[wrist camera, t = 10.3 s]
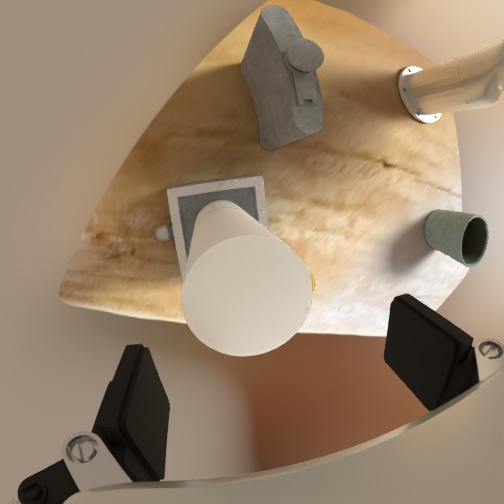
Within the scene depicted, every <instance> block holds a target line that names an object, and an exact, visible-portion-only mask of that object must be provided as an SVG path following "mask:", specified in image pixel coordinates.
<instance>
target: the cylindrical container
mask: <svg viewBox="0 0 504 504" xmlns="http://www.w3.org/2000/svg"><path fill="white" fill-rule="evenodd" d="M312 295H313V290H312V280H311V277H310V274H309V271H308V269H307V267H306V265H305V263H304V262H303V260H302V259H301V257H300V256H299V255H298V254H297V253H296V252H295V251H294V250H293V249H292V248H290V247H289V246H288V245H287V244H286V243H284V242H283V241H282V240H281V239H279V238H278V237H277V236H276V235H274V234H273V233H272V232H271V231H269V230H268V229H267V228H266V227H264V226H263V225H262V224H261V223H259V222H258V221H257V220H255V219H254V218H253V217H252V216H250V215H249V214H248V213H247V212H245V211H244V210H243V209H241V208H240V207H239V206H238V205H236V204H235V203H233V202H230V201H227V200H216V201H213V202H210V203H208V204H207V205H205V206H204V207H203V208H202V209H201V210H200V212H199V214H198V216H197V218H196V222H195V227H194V231H193V236H192V241H191V246H190V251H189V256H188V261H187V266H186V271H185V277H184V282H183V289H182V296H181V300H182V310H183V314H184V317H185V320H186V322H187V324H188V326H189V327H190V329H191V331H192V332H193V333H194V334H195V335H196V337H197V338H198V339H199V340H200V341H201V342H203V343H204V344H206V345H207V346H208V347H210V348H212V349H214V350H216V351H219V352H221V353H225V354H228V355H234V356H253V355H257V354H262V353H266V352H268V351H270V350H273V349H275V348H277V347H279V346H280V345H282V344H284V343H285V342H287V341H288V340H289V339H290V338H291V337H292V336H293V335H294V334H296V332H297V331H298V330H299V329H300V327H301V326H302V325H303V323H304V321H305V319H306V317H307V315H308V313H309V310H310V307H311V303H312Z"/></svg>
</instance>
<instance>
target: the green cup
mask: <svg viewBox="0 0 504 504" xmlns="http://www.w3.org/2000/svg"><path fill="white" fill-rule="evenodd" d="M424 235H425V240H426V242H427V244H428V245H429V246H430V247H432V248H434V249H436V250H438V251H441V252H442V253H444V254H445V255H449V256H450V257H451V258H453V259H455V260H456V261H458V262H460V263H462V264H463V265H465V266H467V267H472V266H475V265H477V264H478V263H479V262H480V261H481V259H482V257H483V256H484V254H485V251H486V248H487V244H488V237H489V236H488V226H487V223H486V220H485V219H484V218H483V217H482V216H480V215H475V214H468V213H463V212H454V211H448V210H441V209H438V210H434V211H433V212H432V213H431V214H430V215H429V216H428V218H427V220H426V223H425V228H424Z"/></svg>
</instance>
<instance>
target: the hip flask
mask: <svg viewBox="0 0 504 504" xmlns="http://www.w3.org/2000/svg"><path fill="white" fill-rule="evenodd" d="M323 61H324V54H323V51H322V50H321V48H320V47H319V46H318V45H317V44H316V43H314V42H313V41H311V40H308V39H304V38H303V36H302V34H301V32H300V30H299V28H298V27H297V25H296V23H295V22H294V20H293V18H292V17H291V15H290V14H289V13H288V11H287V10H285V9H284V8H282V7H280V6H276V5H270V6H266V7H265V8H263V9H262V11H261V14H260V16H259V19H258V21H257V24H256V26H255V29H254V31H253V34H252V36H251V39H250V42H249V44H248V47H247V50H246V52H245V55H244V58H243V61H242V63H241V66H240V72H241V74H242V75H243V77H244V79H245V81H246V83H247V86H248V88H249V91H250V93H251V96H252V99H253V103H254V107H255V111H256V115H257V121H258V127H259V142H260V145H261V147H262V148H263V149H265V150H268V151H272V150H275V149H277V148H280V147H282V146H284V145H287V144H289V143H292V142H295V141H297V140H300V139H302V138H305V137H308V136H310V135H313V134H315V133H318V132H319V131H320V130H321V129H322V127H323V124H324V116H323V105H322V98H321V92H320V87H319V82H318V78H317V74H316V69H317V68H318V67H320V66H321V65H322V63H323Z"/></svg>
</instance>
